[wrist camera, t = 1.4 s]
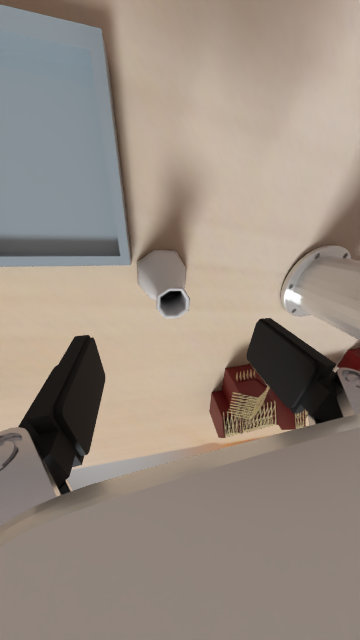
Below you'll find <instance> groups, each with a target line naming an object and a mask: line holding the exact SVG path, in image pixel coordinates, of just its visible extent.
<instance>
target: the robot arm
mask: <svg viewBox="0 0 360 640" xmlns="http://www.w3.org/2000/svg"><path fill="white" fill-rule="evenodd" d="M281 304H282V306H283V308H284V309H285V310H286V311H287V312H288V313H290V314H292V315H294V316H299V317H302V316H308V315H312V316H314V317H316V318H318V319H320V320H322V321H324V322H326V323H328V324H330V325H332V326H333V327H335V328H337V329H339V330H341V331H343V332H345V333H347V334H349V335H351V336H352V337H354V338H356V339H358V340H360V261H359V260H353V259H352V257H351V255H350V252H349V251H348V250H347V249H346V248H344V247H342V246H336V245H326V246H322V247H319V248H317V249H314V250H312V251H311V252H309V253H308V254H306V255H305V256H304V257H303V258H301V259H300V260H299V261H298V262H297V263H296V264H295V265H294V267H293V268H292V269H291V271H290V272H289V274H288V275H287V277H286V279H285V281H284V284H283V286H282V291H281ZM247 359H248V361H249V362H250V363H251V364H252V366H253V367H254V368H255V369H256V371H257V372H258V373H259V374H260V375H261V377H262V378H263V379H264V380H265V382H266V383H267V384H268V385H269V387H270V388H271V389H272V390H273V392H274V393H275V394H276V395H277V396H278V398H279V399H280V400H281V401H282V403H283V404H284V405H285V406H286V407H287V408H289V409H290V410H291V411H292V413H293V414H297V413H301V412H303V411H304V409H305V410H306V411H307V412H308V420H309V426H307V427H303V428H299V429H295V430H291V431H287V432H284V433H280V434H276V435H272V436H268V437H264V438H261V439H257V440H253V441H249V442H245V443H241V444H238V445H234V446H230V447H226V448H222V449H219V450H215V451H211V452H207V453H204V454H200V455H196V456H192V457H189V458H185V459H181V460H177V461H174V462H170V463H166V464H162V465H159V466H155V467H151V468H147V469H144V470H140V471H137V472H133V473H130V474H126V475H123V476H120V477H116V478H112V479H109V480H106V481H103V482H99V483H95V484H92V485H89V486H86V487H83V488H80V489H77V490H74V491H73V490H72V488H71V486H70V485H69V482H68V480H67V478H68V477H69V476H70V472H71V469H72V467H75V466H79V465H82V462H83V458H84V455H87V454H88V453H89V450H90V446H91V442H92V437H93V433H94V428H95V424H96V419H97V415H98V410H99V406H100V401H101V397H102V392H103V388H104V383H105V373H104V370H103V366H102V363H101V360H100V356H99V353H98V350H97V346H96V343H95V340H94V338H90V336H89V335H84V336H76V337H74V339H73V341H72V342H71V344H70V346H69V347H68V349H67V351H66V353H65V354H64V356H63V358H62V359H61V361H60V363H59V364H58V365H57V366H56V367H55V368H54V369H53V370H52V372H51V374H50V375H49V377H48V379H47V380H46V382H45V383H44V385H43V387H42V388H41V390H40V392H39V393H38V395H37V397H36V398H35V400H34V402H33V403H32V405H31V407H30V408H29V410H28V412H27V413H26V415H25V417H24V418H23V420H22V421H21V423H20V425H19V426H18V427H16V428H10V429H7V430H4V431H1V432H0V640H360V372H359V371H357V370H354V369H350V368H339V369H338V370H337V371H336V373H335V372H334V371H332V370H333V368H334V367H335V366H336V364H335V363H333V362H332V361H331V360H329V359H328V358H326V357H325V356H324V355H322V354H321V353H319V352H318V351H316V350H315V349H314V348H312V347H311V346H309V345H308V344H306V343H305V342H304V341H302V340H301V339H299V338H298V337H297V336H295V335H294V334H292V333H291V332H289V331H288V330H287V329H285V328H284V327H282V326H281V325H279V324H278V323H277V322H275V321H274V320H272V319H271V318H265V319H260V320H259V321H258V322H257V323H256V326H255V329H254V332H253V335H252V339H251V342H250V345H249V348H248V351H247Z"/></svg>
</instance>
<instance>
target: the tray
mask: <svg viewBox="0 0 360 640" xmlns="http://www.w3.org/2000/svg"><path fill="white" fill-rule="evenodd" d="M131 262H132V259H131V251H130V242H129V234H128V225H127V217H126V209H125V200H124V192H123V183H122V175H121V166H120V158H119V149H118V141H117V133H116V124H115V116H114V107H113V99H112V90H111V82H110V73H109V65H108V58H107V53H106V49H105V44H104V39H103V34H102V30H101V28H97V27H93V26H89V25H85V24H80V23H76V22H72V21H68V20H64V19H60V18H55V17H51V16H47V15H43V14H39V13H34V12H30V11H26V10H22V9H18V8H14V7H9V6H5V5H1V4H0V267H19V266H102V265H131Z"/></svg>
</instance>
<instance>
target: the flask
mask: <svg viewBox="0 0 360 640" xmlns="http://www.w3.org/2000/svg"><path fill="white" fill-rule="evenodd" d="M137 274H138V284H139V285H140V287H141V288H142V289H143V290H144V291H145V293H146V294H147V295H148V296H149V297H150V299H153V300H156V301H157V305H156V308H157V310H158V311H159V312H160V313H161V314H162V316H163V317H164V318H178V317H180V316H181V315H183V314H184V313H186V312H187V311H189V302H190V298H189V296H188V295H187V293H186V291H185V290H184V288H185V278H186V267H185V266H184V264H183V262H182V261H181V259H180V257H179V255H178V254H177V252H176V251H171V250H153V251H152V252H150V253H149V254H148V255H146V256H145V257H144V258H142V259H141V260H140V261H138V262H137Z"/></svg>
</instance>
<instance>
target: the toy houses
mask: <svg viewBox="0 0 360 640" xmlns="http://www.w3.org/2000/svg"><path fill="white" fill-rule="evenodd" d="M337 367H339V368H350V369H354V370H357V371H359V372H360V348H356V349H351V350H348V351H347V352H346V354H345V355H344V357H343V358H342V360H341V361H340V363H339V364H338V366H337ZM209 412H210V414H211V417H212V420H213V423H214V426H215V428H216V431H217V434H218V437H219V438H226V436H227V437H230V436H234V435H238V434H242V433H243V432H248V431H249V432H250V431H254V430H258V429H262V428H266V427H269V426H273V425H279V426H280V429H282V430H291V429H297V428H302V427H305V419H306V417H307V416H308V412H307V411H306V410H305V409H304V411H303V412H301V413H297V414H293V413H292V411H291V410H290V409H289V408H287V407H286V406H285V405H284V404H283V403H282V401H281V400H280V399H279V398H278V396H277V395H276V394H275V393H274V392H273V390H272V389H271V388H270V387H269V386H268V387H267V385H266V384H265V383H264V381H263V380H262V379H261V378H260V376H259V375H258V374H257V372H256V371H255V369H253V367H252V366H251V365H250V364H247V365H241V366H236V367H230V368H225V374H224V380H223V386H222V391H217V392H212V394H211V403H210V411H209ZM262 425H263V426H262ZM247 429H248V430H247ZM232 433H233V434H232ZM231 434H232V435H231ZM228 435H229V436H228Z"/></svg>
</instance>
